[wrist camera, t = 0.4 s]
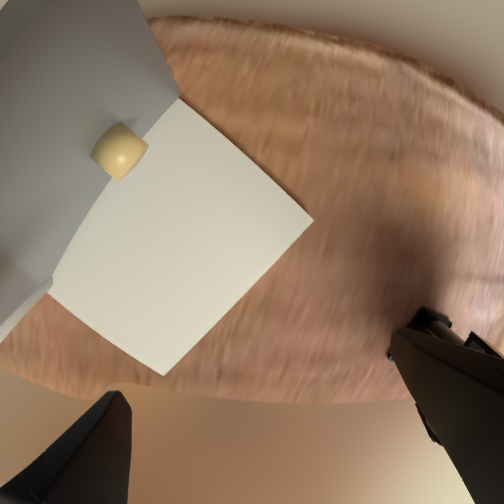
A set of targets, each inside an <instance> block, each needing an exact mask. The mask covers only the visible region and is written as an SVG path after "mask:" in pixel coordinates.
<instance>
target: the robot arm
mask: <svg viewBox="0 0 504 504" xmlns="http://www.w3.org/2000/svg"><path fill="white" fill-rule="evenodd" d="M451 326H452V322H451V321H449V320H448V319H446V318H444V317H442V316H441V315H439V314H437V313H435V312H434V311H432V310H430V309H428V308H427V307H422V308H421V309H420V310H419V312H418V313H417V315H416V316H415V318H414V319H413V321H412V322H411V324H410V325H409V327H408V328H406V327H401V328H398V329H395V330H393V332H392V335H391V345H390V353H389V355H388V359H389V361H391V362H394V363H395V364H396V366H397V368H398V370H399V372H400V374H401V376H402V378H403V380H404V382H405V384H406V386H407V388H408V390H409V392H410V393H411V395H412V397H413V398H414V400H415V401H416V403H415V405H416V407H417V409H418V413H419V415H420V417H421V419H422V421H423V424H424V426H425V428H426V430H427V432H428V435H429V437H430V438H431V440H432V441H433V442H437V443H438V444H439V445H441V446H443V447H444V448H445V450H446V452H447V454H448V455H449V457H450V459H451V460H452V462H453V464H454V466H455V467H456V469H457V471H458V473H459V475H460V476H461V478H462V480H463V482H464V484H465V486H466V487H467V489H468V491H469V493H470V495H471V497H472V499H473V501H474V503H475V504H504V355H503V354H501V353H500V352H499V351H498V350H497V349H496V348H495V347H493V346H492V345H491V344H490V343H488V342H487V341H486V340H484V339H483V338H482V337H480V336H479V335H477V334H476V333H474V332H473V331H471V332H470V334H469V335H468V336H469V337H468V338H467V340H466V341H464V340H462V339H461V338H460V337H459V336H458V335H457V334H455V333H454V332H453V331H452V330H451V329H450V328H451ZM131 450H132V411H131V407H130V405H129V404H128V402H127V401H126V399H125V397H124V396H123V394H122V393H121V392H120V391H119V390H113V391H108V392H107V393H105V394H104V395H103V396H102V397H101V398H100V399H99V400H98V401H97V402H96V403H95V404H94V405H93V406H92V407H91V408H90V409H89V410H88V411H87V412H85V413H84V414H83V415H82V416H81V417H80V418H79V419H78V420H77V421H76V422H75V423H74V424H73V425H72V426H71V427H69V428H68V429H67V430H66V431H65V432H64V434H62V435H61V436H60V437H59V438H58V439H57V440H56V441H55V442H54V443H53V444H51V446H49V447H48V448H47V449H46V452H43V453H42V454H41V455H40V456H39V457H38V458H37V459H36V460H34V461H33V462H32V463H31V464H30V465H29V466H27V468H25V469H24V470H22V471H21V472H20V473H19V474H17V475H16V476H15V477H14V478H12V479H11V480H10V481H8V482H7V483H6V484H4V485H3V486H2V487H0V504H127V500H128V485H129V472H130V461H131Z"/></svg>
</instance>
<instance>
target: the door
mask: <svg viewBox="0 0 504 504" xmlns="http://www.w3.org/2000/svg"><path fill="white" fill-rule="evenodd" d="M180 96H181V93H180V91H179V88H178V86H177V84H176V82H175V80H174V78H173V76H172V74H171V71H170V69H169V67H168V65H167V63H166V61H165V59H164V56H163V54H162V52H161V50H160V48H159V46H158V44H157V42H156V39H155V37H154V35H153V33H152V31H151V29H150V27H149V25H148V22H147V20H146V18H145V16H144V14H143V12H142V10H141V8H140V5H139V3H138V1H137V0H8V2H7V3H6V4H5V5H4V6H3V8H2V9H1V10H0V343H1V342H2V341H3V339H4V338H5V337H6V336H7V335H8V334H9V332H10V331H11V330H12V329H13V328H14V327H15V326H16V324H17V323H18V322H19V321H20V320H21V319H22V318H23V317H24V316H25V315H26V313H27V312H28V311H29V310H30V309H31V308H32V307H33V306H34V305H35V304H36V303H37V302H38V301H39V300H40V299H41V298H42V297H43V296H44V295H45V294H46V293H47V292H48V291H49V290H50V289H51V287H52V285H53V277H52V275H53V273H54V271H55V269H56V267H57V265H58V263H59V261H60V260H61V258H62V256H63V254H64V252H65V250H66V249H67V247H68V245H69V243H70V242H71V240H72V238H73V237H74V235H75V233H76V232H77V230H78V228H79V227H80V225H81V223H82V222H83V220H84V219H85V217H86V215H87V214H88V212H89V211H90V209H91V208H92V206H93V205H94V203H95V202H96V200H97V199H98V197H99V196H100V194H101V193H102V191H103V190H104V188H105V187H106V185H107V184H108V183H109V181H110V180H111V178H112V177H113V178H114V179H115V180H117V181H118V182H119V181H121V180H122V179H123V178H125V177H126V176H127V175H128V174H129V173H130V172H131V171H132V169H133V168H134V167H135V166H136V165H137V164H138V162H139V161H140V160H141V158H142V157H143V156H144V154H145V153H146V151H147V149H148V147H149V145H148V144H147V143H146V142H145V141H144V140H142V138H143V137H144V136H145V135H146V133H147V132H148V131H149V130H150V129H151V128H152V126H153V125H154V124H155V123H156V122H157V121H158V119H159V118H160V117H161V116H162V115H163V114H164V113H165V112H166V111H167V109H168V108H169V107H170V106H171V105H172V104H173V103H174V102H175V101H176V100H177V99H178V98H179V97H180Z"/></svg>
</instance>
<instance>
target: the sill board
mask: <svg viewBox="0 0 504 504" xmlns="http://www.w3.org/2000/svg"><path fill="white" fill-rule="evenodd" d="M142 140H144V141H145V142H146V143H147V144H148V145H149V147H148V149H147V151H146V153H145V154H144V156H143V157H142V158H141V160H140V161H139V162H138V164H137V165H136V166H135V167H134V168H133V169H132V171H131V172H130V173H129V174H128V175H127V176H126V177H125V178H123V179H122V180H121V181H119V182H118V181H117V180H115V179H114V178H113V177H112V178H111V180H110V181H109V183H108V184H107V185H106V187H105V188H104V190H103V191H102V193H101V194H100V196H99V197H98V199H97V200H96V202H95V203H94V205H93V206H92V208H91V209H90V211H89V212H88V214H87V215H86V217H85V219H84V220H83V222H82V223H81V225H80V227H79V228H78V230H77V232H76V233H75V235H74V237H73V238H72V240H71V242H70V243H69V245H68V247H67V249H66V250H65V252H64V254H63V256H62V258H61V260H60V261H59V263H58V265H57V267H56V269H55V271H54V273H53V275H52V277H53V285H52V287H51V289H50V290H49V291H48V292H47V293H49V294H50V295H51V296H52V297H53V298H54V299H56V300H57V301H58V302H59V303H60V304H62V305H63V306H64V307H65V308H66V309H68V310H69V311H70V312H71V313H73V314H74V315H75V316H76V317H78V318H79V319H80V320H82V321H83V322H84V323H85V324H87V325H88V326H89V327H91V328H92V329H93V330H95V331H96V332H97V333H99V334H100V335H102V336H103V337H104V338H106V339H107V340H109V341H110V342H111V343H113V344H114V345H116V346H117V347H119V348H120V349H122V350H123V351H125V352H126V353H128V354H129V355H131V356H132V357H134V358H135V359H137V360H138V361H140V362H142V363H143V364H145V365H146V366H148V367H150V368H151V369H153V370H155V371H156V372H158V373H160V374H161V375H163V376H164V375H165V374H166V373H167V372H168V371H169V370H170V369H171V368H172V367H173V366H174V365H175V364H176V363H177V362H178V361H179V360H180V359H181V358H182V357H183V356H184V355H185V354H186V353H187V352H188V351H189V350H190V349H191V348H192V347H193V346H194V345H195V344H196V343H197V342H198V341H199V340H200V339H201V338H202V337H203V336H204V335H205V334H206V333H207V332H208V331H209V330H210V329H211V328H212V327H213V326H214V325H215V324H216V323H217V322H218V321H219V320H220V319H221V318H222V317H223V316H224V315H225V314H226V313H227V312H228V311H229V309H230V308H231V307H232V306H233V305H234V304H235V303H236V302H237V301H238V300H239V299H240V298H241V297H242V296H243V295H244V294H245V293H246V292H247V291H248V290H249V289H250V288H251V287H252V286H253V285H254V284H255V283H256V281H257V280H258V279H259V278H260V277H261V276H262V275H263V274H264V273H265V272H266V271H267V270H268V269H269V268H270V267H271V266H272V265H273V264H274V263H275V262H276V260H277V259H278V258H279V257H280V256H281V255H282V254H283V253H284V252H285V251H286V250H287V249H288V248H289V247H290V246H291V245H292V243H293V242H294V241H295V240H296V239H297V238H298V237H299V236H300V235H301V234H302V233H303V232H304V231H305V230H306V228H307V227H308V226H309V225H310V224H311V223H312V222H313V221H314V220H313V219H312V218H311V217H310V216H309V215H308V214H307V213H306V212H305V211H304V210H303V209H302V208H301V207H300V206H299V205H298V204H297V203H296V202H295V201H294V200H293V199H292V198H291V197H290V196H289V195H288V194H287V193H286V192H285V191H284V190H283V189H282V188H281V187H279V186H278V185H277V184H276V183H275V182H274V181H273V180H272V179H271V178H270V177H269V176H268V175H267V174H266V173H265V172H263V171H262V170H261V169H260V168H259V167H258V166H257V165H256V164H255V163H254V162H253V161H252V160H250V159H249V158H248V157H247V156H246V155H245V154H244V153H243V152H242V151H240V150H239V149H238V148H237V147H236V146H235V145H234V144H233V143H231V142H230V141H229V140H228V139H227V138H226V137H225V136H223V135H222V134H221V133H220V132H219V131H218V130H216V129H215V128H214V127H213V126H212V125H211V124H209V123H208V122H207V121H206V120H205V119H204V118H202V117H201V116H200V115H199V114H198V113H196V112H195V111H194V110H193V109H192V108H190V107H189V106H188V105H187V104H185V103H184V102H183V101H182V100H181V99H179V98H178V99H177V100H176V101H175V102H174V103H173V104H172V105H171V106H170V107H169V108H168V109H167V111H166V112H165V113H164V114H163V115H162V116H161V117H160V118H159V119H158V121H157V122H156V123H155V124H154V125H153V126H152V128H151V129H150V130H149V131H148V132H147V133H146V135H145V136H144V137H143V138H142Z"/></svg>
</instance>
